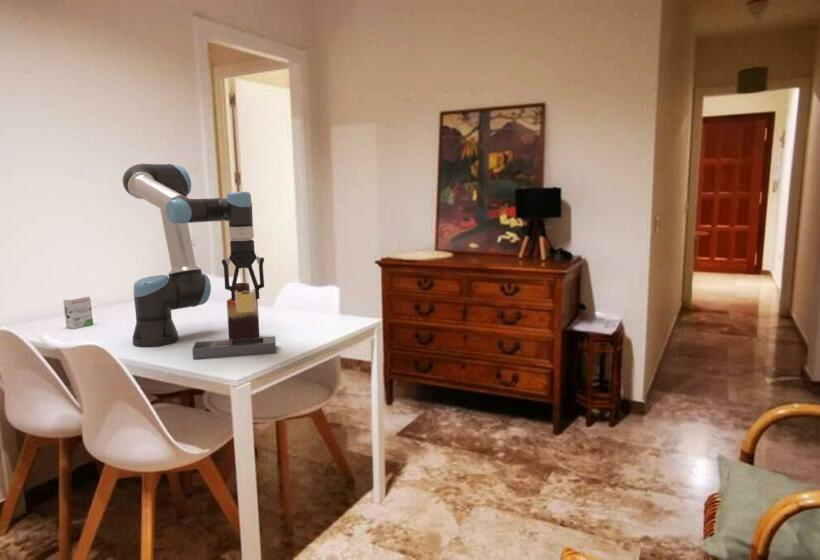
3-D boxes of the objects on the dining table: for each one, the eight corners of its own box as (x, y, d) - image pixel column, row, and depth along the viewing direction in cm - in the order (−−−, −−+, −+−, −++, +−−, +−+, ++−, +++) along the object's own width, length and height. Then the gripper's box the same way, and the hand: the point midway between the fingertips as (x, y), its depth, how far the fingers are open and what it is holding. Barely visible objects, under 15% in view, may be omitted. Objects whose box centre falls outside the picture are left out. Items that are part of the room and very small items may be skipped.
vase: (223, 339, 210) (220, 284, 207) (250, 333, 218) (247, 280, 214) (238, 344, 202) (234, 287, 199) (265, 338, 210) (262, 283, 207)
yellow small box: (238, 312, 188) (236, 292, 187) (238, 309, 192) (237, 290, 191) (254, 311, 189) (252, 291, 188) (254, 308, 194) (253, 289, 193)
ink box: (87, 323, 238) (84, 295, 236) (93, 324, 236) (91, 296, 234) (65, 327, 231) (62, 298, 229) (72, 329, 228) (69, 300, 227)
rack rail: (193, 359, 185) (192, 348, 184) (196, 351, 194) (195, 341, 193) (275, 353, 191) (275, 342, 190) (275, 346, 200) (275, 336, 199)
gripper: (211, 241, 182) (216, 313, 185) (270, 239, 186) (274, 310, 189) (213, 239, 189) (218, 309, 192) (270, 237, 193) (274, 305, 196)
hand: (246, 309), depth 191 cm, fingers closed on yellow small box, 5 cm apart
